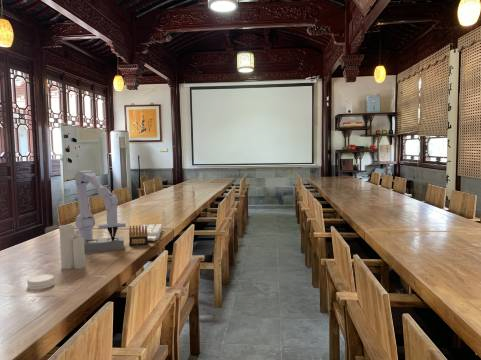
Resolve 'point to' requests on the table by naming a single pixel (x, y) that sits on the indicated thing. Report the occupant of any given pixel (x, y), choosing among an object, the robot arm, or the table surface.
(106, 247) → the block
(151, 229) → the organizer
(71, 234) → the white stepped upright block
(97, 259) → the table surface
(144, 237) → the ammunition clip
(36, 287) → the coaster
